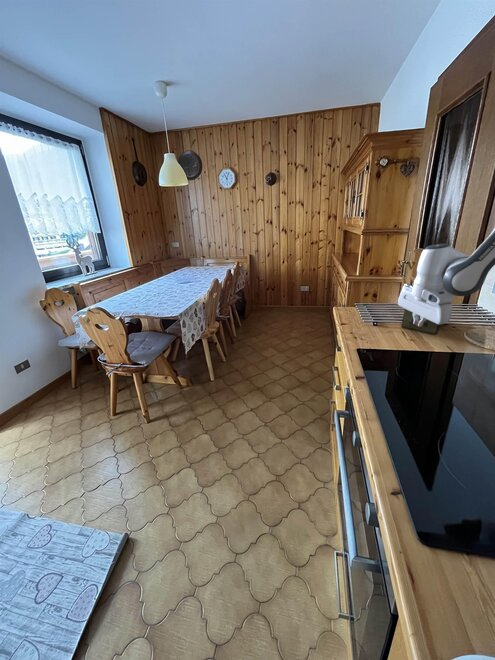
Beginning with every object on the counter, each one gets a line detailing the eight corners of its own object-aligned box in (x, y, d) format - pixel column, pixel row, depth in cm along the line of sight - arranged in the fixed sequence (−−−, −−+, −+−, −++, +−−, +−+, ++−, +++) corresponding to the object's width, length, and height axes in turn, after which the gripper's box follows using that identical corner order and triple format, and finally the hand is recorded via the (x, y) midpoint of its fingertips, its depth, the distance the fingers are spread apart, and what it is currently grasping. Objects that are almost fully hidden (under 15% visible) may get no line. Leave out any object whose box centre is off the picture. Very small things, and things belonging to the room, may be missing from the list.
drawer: (433, 338, 107) (438, 319, 104) (399, 330, 114) (403, 312, 110) (440, 320, 119) (445, 303, 116) (409, 314, 126) (413, 298, 122)
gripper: (397, 283, 109) (390, 315, 116) (444, 301, 92) (433, 338, 98) (410, 281, 111) (403, 313, 117) (459, 298, 93) (447, 335, 100)
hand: (417, 325), depth 107 cm, fingers closed
